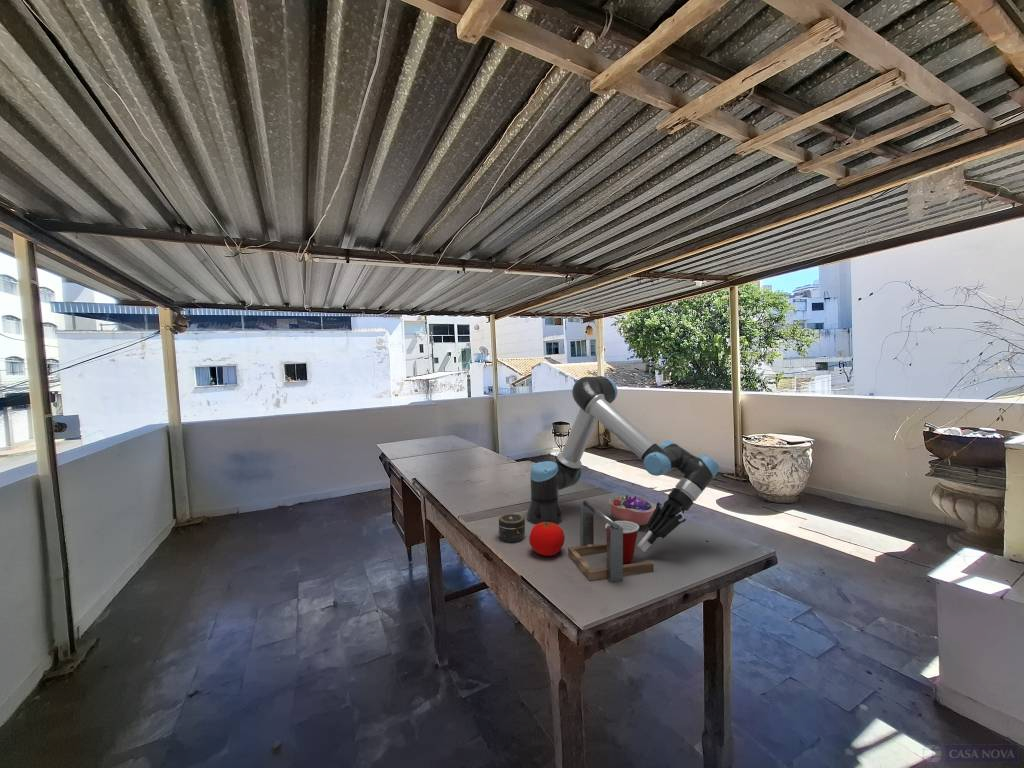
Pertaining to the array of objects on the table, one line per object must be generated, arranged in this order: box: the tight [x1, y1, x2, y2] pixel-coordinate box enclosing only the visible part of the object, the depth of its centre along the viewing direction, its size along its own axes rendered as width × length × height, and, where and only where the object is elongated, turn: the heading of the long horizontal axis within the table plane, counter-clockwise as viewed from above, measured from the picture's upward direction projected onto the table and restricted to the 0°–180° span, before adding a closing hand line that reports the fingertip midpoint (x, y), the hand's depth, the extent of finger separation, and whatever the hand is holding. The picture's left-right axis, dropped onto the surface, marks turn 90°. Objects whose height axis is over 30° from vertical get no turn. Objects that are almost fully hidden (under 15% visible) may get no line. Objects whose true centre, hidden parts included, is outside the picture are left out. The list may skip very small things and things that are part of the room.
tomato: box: [528, 522, 566, 557], centre depth 134 cm, size 11×12×10 cm
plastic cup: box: [604, 520, 640, 565], centre depth 128 cm, size 11×11×12 cm
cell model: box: [608, 494, 657, 527], centre depth 160 cm, size 17×20×11 cm
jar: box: [498, 513, 526, 544], centre depth 147 cm, size 10×10×8 cm
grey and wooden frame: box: [567, 500, 655, 584], centre depth 127 cm, size 22×22×17 cm
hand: (640, 548), depth 129 cm, fingers closed
